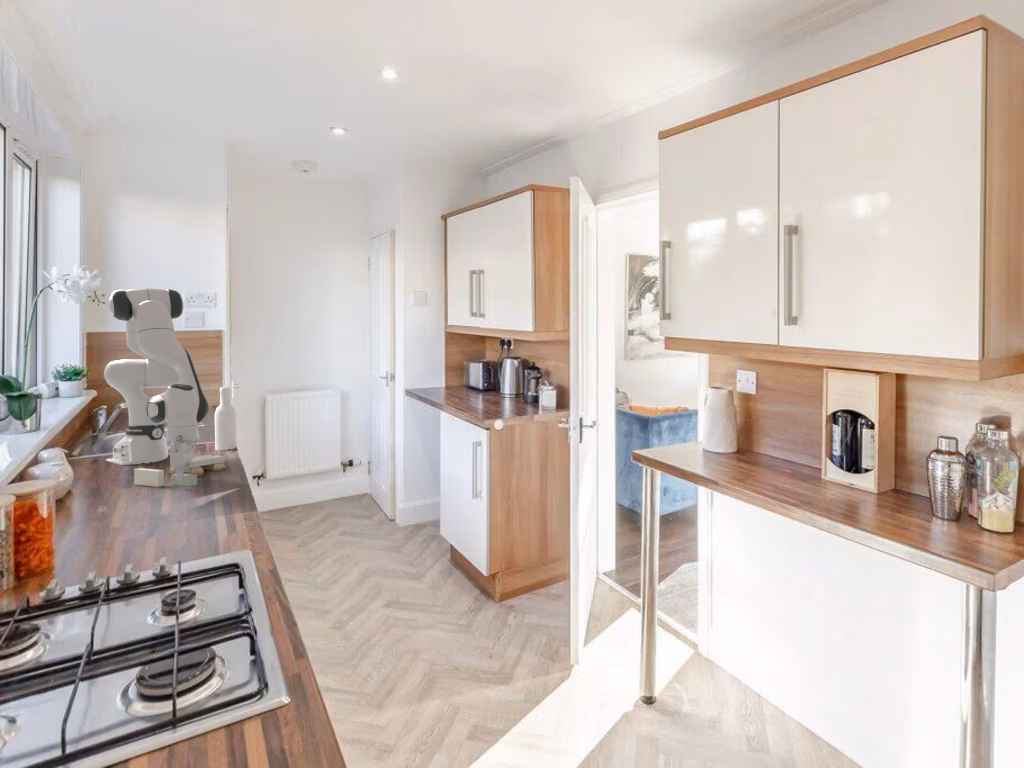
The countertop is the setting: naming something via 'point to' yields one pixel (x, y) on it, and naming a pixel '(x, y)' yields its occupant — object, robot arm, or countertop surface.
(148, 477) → the block
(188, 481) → the block
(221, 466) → the rail
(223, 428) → the bottle
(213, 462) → the stone slab
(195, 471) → the rail
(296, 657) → the countertop surface
